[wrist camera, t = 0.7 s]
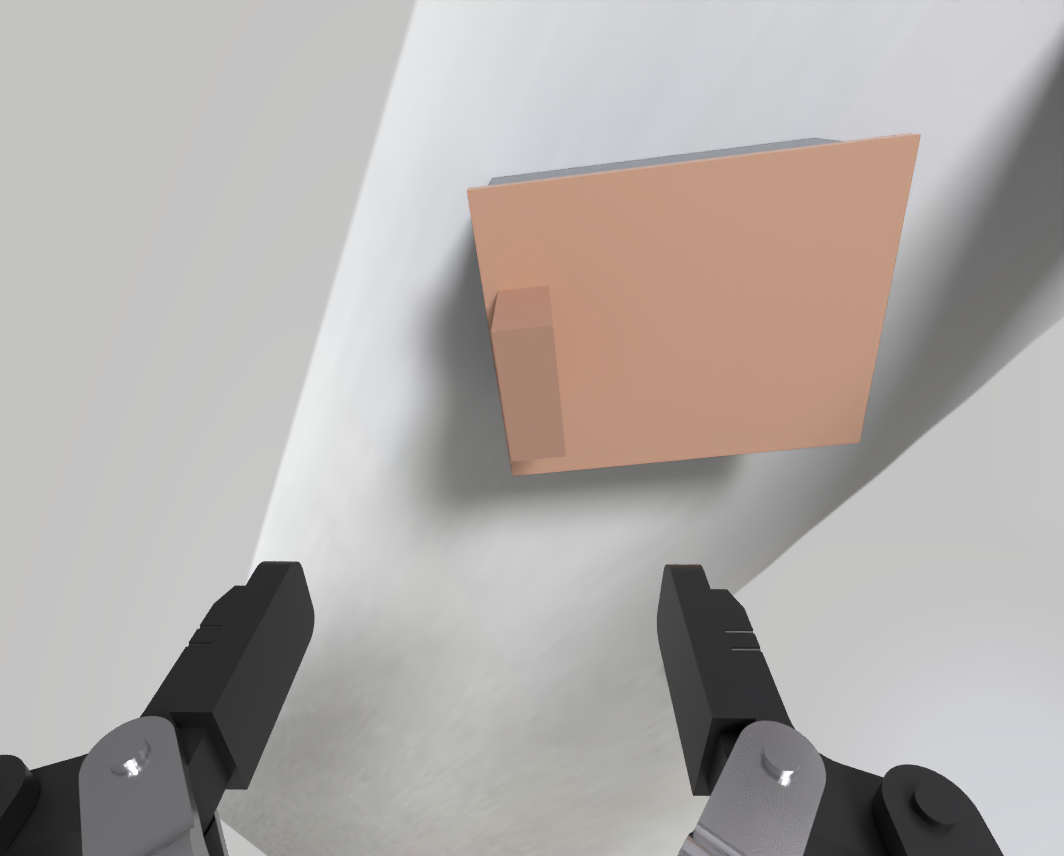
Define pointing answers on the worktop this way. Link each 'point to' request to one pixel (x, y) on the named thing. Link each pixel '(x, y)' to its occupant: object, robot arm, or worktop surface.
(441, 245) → the worktop surface
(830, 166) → the lid
